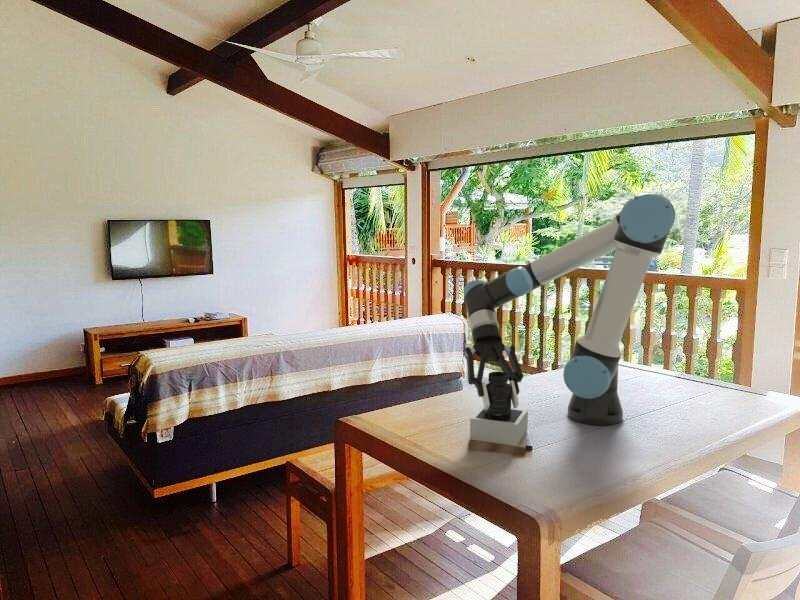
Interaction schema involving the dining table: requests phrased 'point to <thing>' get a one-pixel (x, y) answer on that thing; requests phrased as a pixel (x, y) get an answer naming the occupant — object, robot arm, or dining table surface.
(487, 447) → the walnut plinth
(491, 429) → the grey square open box
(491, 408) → the supplement bottle
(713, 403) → the dining table surface
